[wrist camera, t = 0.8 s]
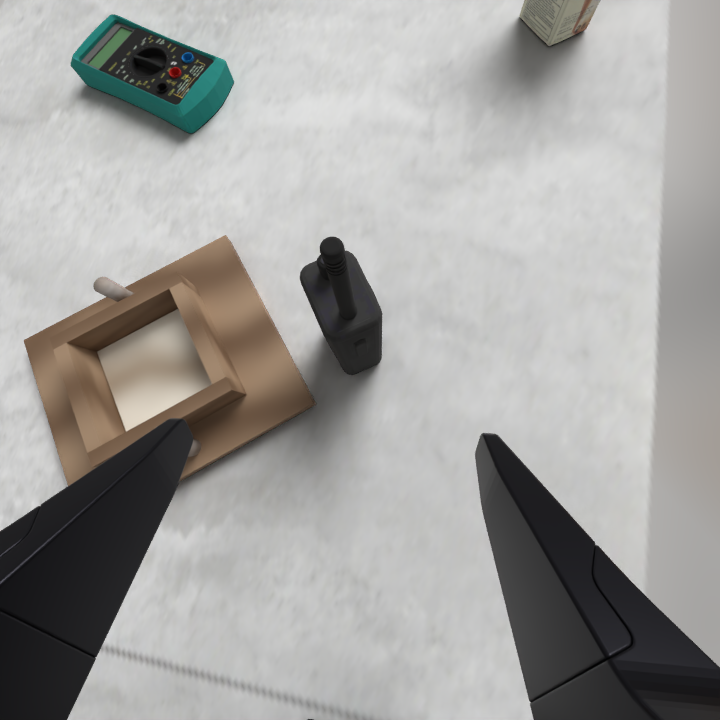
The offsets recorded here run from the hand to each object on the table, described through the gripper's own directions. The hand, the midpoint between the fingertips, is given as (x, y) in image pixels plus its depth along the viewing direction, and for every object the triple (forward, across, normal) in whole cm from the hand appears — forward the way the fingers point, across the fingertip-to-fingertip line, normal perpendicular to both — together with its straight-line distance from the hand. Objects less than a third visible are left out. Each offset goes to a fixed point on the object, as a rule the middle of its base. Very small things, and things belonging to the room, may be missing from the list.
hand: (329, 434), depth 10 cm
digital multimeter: (+35, +22, -10) cm, 43 cm away
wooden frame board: (+12, +15, +8) cm, 21 cm away
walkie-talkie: (+14, +1, +7) cm, 16 cm away
